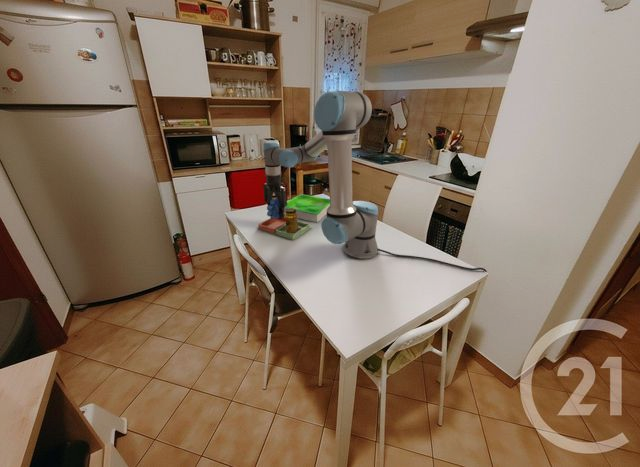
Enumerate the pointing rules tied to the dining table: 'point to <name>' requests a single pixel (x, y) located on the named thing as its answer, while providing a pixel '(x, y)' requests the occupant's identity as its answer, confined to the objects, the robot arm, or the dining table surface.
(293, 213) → the condiment
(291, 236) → the green tray
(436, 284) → the dining table surface
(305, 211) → the tray
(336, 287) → the dining table surface
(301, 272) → the dining table surface
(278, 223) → the terracotta tray
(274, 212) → the grapes
